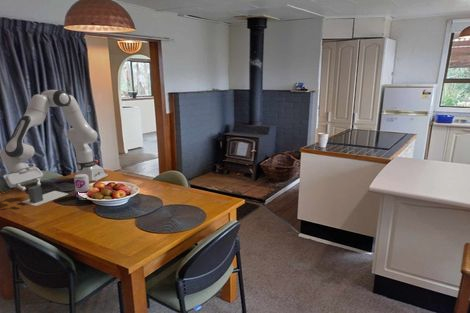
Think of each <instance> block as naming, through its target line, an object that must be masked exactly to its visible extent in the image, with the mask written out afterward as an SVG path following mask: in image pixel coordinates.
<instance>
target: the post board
mask: <svg viewBox="0 0 470 313" xmlns="http://www.w3.org/2000/svg"><path fill="white" fill-rule="evenodd" d="M42 195H43V201H40V202H37V203H33V202H30V198H29V199H26V200H23V201H22V204H24V203H25V204H27V205H30V206H31V205H32V206H35V207H36V206H40V205H43V204H45V203H49V202H51V201H53V200H57V199H60V198H62V197H65V196H68V195H69V193H67V192H63V191H57V190H53V191H49V192H47V193H44V194H42Z"/></svg>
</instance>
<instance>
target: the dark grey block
mask: <svg viewBox="0 0 470 313" xmlns="http://www.w3.org/2000/svg"><path fill="white" fill-rule="evenodd" d="M27 189H28V190H27V191H28V192H27V193H28V198H29V199H30V202H33V203H37V202H40V201H43V195H44V194H43V189H42V186H41V185H40V186H37V185H33V186H30V187H28V188H27Z"/></svg>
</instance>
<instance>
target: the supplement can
mask: <svg viewBox="0 0 470 313" xmlns="http://www.w3.org/2000/svg"><path fill="white" fill-rule="evenodd" d="M73 181H74V187H75V196H76V198H78V200H79V201H85V200H86V199H83V198H81V197H80V196H79V195H78V192H79V193H87V192H88V191H89V189H90V190H91V188H90V181H89V178H88V176H87V174H78V173H77V174H76V175H74V178H73Z"/></svg>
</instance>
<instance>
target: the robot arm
mask: <svg viewBox="0 0 470 313" xmlns="http://www.w3.org/2000/svg"><path fill="white" fill-rule="evenodd" d="M50 107H52V108H57V107H60V108H61V112H62V113H63V115H64V117H65V120H66V122H67V124H68V125H69V126H70V127H71V128H69V129H68V130H67V131H66V138H67V139H68V140H69V141H70V142H71V145H72V146H73V149H74V151H75V156H76V168H77V175H78V174H87V176H88V178H89V182H96V181H99V180H102V179H103V178H105V177H107V176H109V174H108V173H105V169H104V168H103V167H102V166H99V165H98V164H97V163H99V160H98V159H94V156H93V154H94V153H93V150H92V148H91V147H90V146H89V144H93V143H96V141H97V140H98V137H99V135H98V132H97V131H96V130H94V129H93V128H92V127H91V125H90V124H89V123H88V122H87V120H86V119H85V117H84V115H83V112H82V110H81V107H80V105H79V103H78V102H77V100H76V98H75V97H74V96H73V95H71V94H68V92H66V91H64V90H62V89H46V90H42V91H41V92H40V93H39V94H38V93H37V94H33V96H32V97H31V98H30V101H29V103H28V105H27V107H26V111H25V113H24V114H23V115H22V116H21V117H20V119H18V122H17V123H16V125H15V128H14V130H13V131H12V134H11V136H10V138H9V140H7V142H6V143H5V145H4V148H3V149H1V150H0V158H1V160H2V162H3V163H4V165H5V166H6V167H7V168H8V171H9V172H8V173H7V172H6V173H4V174H3V179H4V180H5V182H6V184H7V186H8V187H9V188H10V189H11V188H15V187H17V188H18V189H20V190H21V191H22V192H25V191H26V190H27V188H26V186H22V185H26V184H30V183H32V182H35V181H36V186H40V187H41V185H42V183H41V181H40V180H41V179H42V178H43V177H44V173H43V172H42V170H40V169H39V168H38V167H37V166H36V163H27V161H28V160H30V159H32V158H33V157H34V156H35V153H36V150H35V147H34V146H33V145H31V144H28V143H25V142H24V138H25V136H26V135H27V132H28V130H29V129H30V128H33V127H36V126H39V125H40V126H41V125H42V124H43V123H44V122H45V120H46V117H47V114H48V111H49V108H50ZM25 162H26V163H25Z"/></svg>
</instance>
